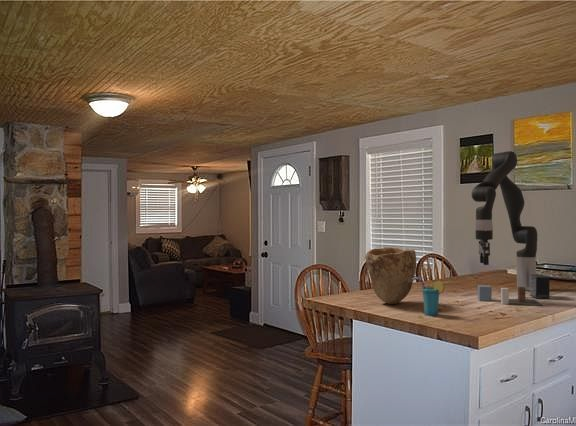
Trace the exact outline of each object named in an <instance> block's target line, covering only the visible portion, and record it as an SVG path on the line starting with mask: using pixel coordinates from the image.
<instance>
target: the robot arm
mask: <svg viewBox="0 0 576 426" xmlns="http://www.w3.org/2000/svg"><path fill="white" fill-rule="evenodd" d="M491 165H492V168H493V170H491V171H490V172H489V173H488V174H487V175H486V176H485V178H484V179H483V181H481V182H479V183H478V184H477V185H475V186H474V187H473V189H472V191H471V198H472V200H473V201H474V202H477V203H485V204H484V205H483V206H478V207H477V208H476V209H475V240H478V254H479V263H480V264H483V266H489V265H490V264H489V261H490V260H489V259H490V258H489V257H490V256H491V247H490V245H491V243H490V242H489V241H490V240H493V239H494V238H493V237H494V236H493V235H494V233H493V232H494V228H493V227H494V226H493V209H494V208H493V207H494V204H495V201H496V197H497V191H496V190H497V189H498V187H500V191H501V194H502V198H503V202H504V205H505V208H506V211H507V212H506V213H507V215H508V219H509V223H510V228H511V233H512V234H511V235H512V238H513V241H514V242H515V243H517V244H523V245H525V247H523V248H522V249H520V250H517V251H516V289H517V290H518V287H525V291H530V274H534V275H537V250H538V230H537V228H536V227H535V226H529V225H522V223H521V215H522V212H523V211H524V210H523V209H524V207H525V199H524V195H523V192H522V190H521V188H520V187H519V186H518V185H517V184H516V183H515V182H513V181H512V180H511V179H510V178H509V176H508V175H509V174H510V173H511V172H512V171H513V170H514V169H515V168H516V166H517V165H518V157H517V154H516V152H514V151H511V150H510V151H509V150H508V151H501V152H497V153H493V154H492V156H491Z"/></svg>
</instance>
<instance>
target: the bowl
mask: <svg viewBox="0 0 576 426" xmlns="http://www.w3.org/2000/svg"><path fill="white" fill-rule="evenodd" d="M364 260H365V263H366V268H367V270H368V274H369V277H370V281H371V285H372V288H373V289H372V290H373V291H374V293H375V294H376V296H377V297H378V299H380V300H381V301H382V302H384V303H386V304H388V305H396V304H399V303H400V302H402V301H403V300H405V298H406V297H407V296H408V295H409V293H410V291H411V289H412V286H413V282H414V280H412V278H416V277H415V276H416V272H417V254H416V251H415V249H412V248H411V249H410V248H405V249H402V248H399V247H387V246H386V247H382V248H380V247H379V248H371V249H370V250H368V251H367V253H366V254H365V257H364Z"/></svg>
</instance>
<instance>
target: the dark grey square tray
mask: <svg viewBox="0 0 576 426" xmlns="http://www.w3.org/2000/svg"><path fill="white" fill-rule="evenodd" d="M508 306H519V307H520V306H521V307H523V306H525V307H526V306H527V307H528V306H529V307H543V306H544V305H543V304H542V303H541V302H539V301H537V299H535V298H534V299H530V298H529V299H528V298H527V299H526V290H525V287H518V289H517V298H509V304H508Z"/></svg>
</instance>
